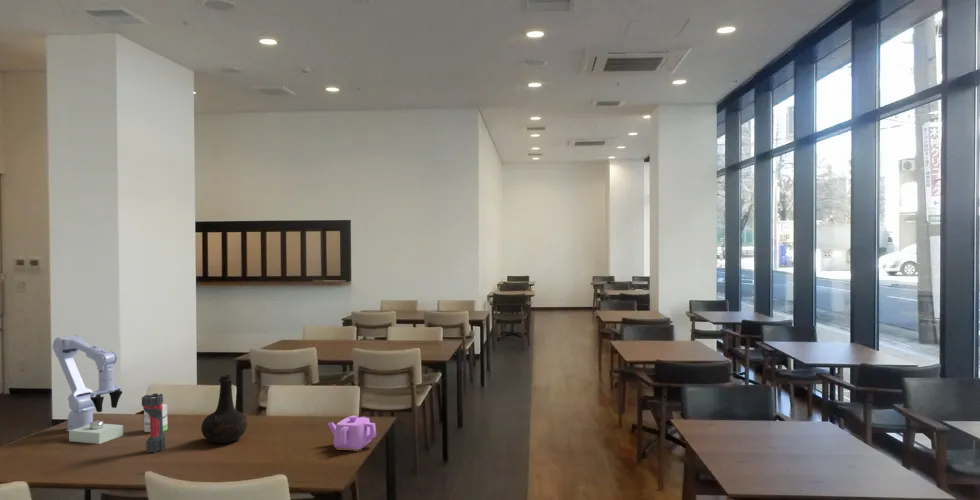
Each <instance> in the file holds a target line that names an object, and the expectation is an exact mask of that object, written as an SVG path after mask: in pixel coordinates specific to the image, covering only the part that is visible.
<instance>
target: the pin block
mask: <svg viewBox="0 0 980 500" xmlns="http://www.w3.org/2000/svg"><path fill="white" fill-rule="evenodd" d="M122 436H124V425H123V424H115V423H113V424H112V423H103V428H101V429H95V430H91V429H90V424H89V425H85V426H82V427H79V428H76V429H73V430H70V431H68V442H75V443H85V444H86V443H87V444H96V445H97V444H99V445H100V444H103V443H105V442H108V441H111V440H114V439H117V438H119V437H122Z"/></svg>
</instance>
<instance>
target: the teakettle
mask: <svg viewBox="0 0 980 500" xmlns="http://www.w3.org/2000/svg"><path fill="white" fill-rule="evenodd" d="M327 425H328V427H329V429H330V431H331V433H332V434H333V447H335V448H346V449H361V448H363V447H364V446H366V445H367V444H368V443H369V442H370V441H372V440H373V439H374V438H376V437H377V429H376V423H374V422H370V418H369V417H366V416H361V417H358V416H357V415H349V416H347V417H345V418H344V419H342V420H340V421H339V422H337V424H335V423H334V422H333V421H332V422H329V423H328V422H327ZM370 443H371V442H370ZM335 448H334V449H335Z"/></svg>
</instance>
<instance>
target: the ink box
mask: <svg viewBox="0 0 980 500" xmlns="http://www.w3.org/2000/svg"><path fill="white" fill-rule="evenodd" d="M162 407H163V409H162V416H163V432H165V431H167V430H168V429H169V428H168V427H169V425H168V422H169V421H168V404H167V403H166V404H163V403H162ZM143 411H144V410H143ZM143 415H144V422H143V423H144V429H143V430H144V433H145V432H146V433H150V431H151V430H150V416H149V414H148V413H147V412H145V411H144V414H143Z"/></svg>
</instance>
